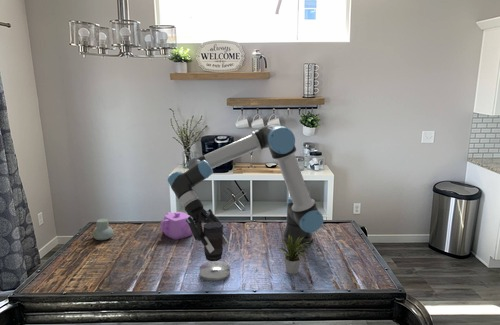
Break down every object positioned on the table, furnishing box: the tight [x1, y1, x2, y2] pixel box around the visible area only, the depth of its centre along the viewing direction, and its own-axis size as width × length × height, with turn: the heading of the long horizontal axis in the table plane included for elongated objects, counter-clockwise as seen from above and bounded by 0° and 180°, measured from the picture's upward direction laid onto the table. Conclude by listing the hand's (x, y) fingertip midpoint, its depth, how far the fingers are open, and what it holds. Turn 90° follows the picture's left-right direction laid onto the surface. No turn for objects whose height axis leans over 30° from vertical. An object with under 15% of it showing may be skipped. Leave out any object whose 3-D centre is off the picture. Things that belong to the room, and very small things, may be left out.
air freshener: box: [92, 218, 115, 241], centre depth 199 cm, size 11×8×10 cm
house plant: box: [278, 235, 311, 275], centre depth 162 cm, size 14×14×16 cm
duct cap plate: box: [199, 260, 231, 283], centre depth 162 cm, size 13×13×3 cm
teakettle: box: [159, 211, 193, 241], centre depth 204 cm, size 17×17×12 cm
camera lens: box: [202, 222, 224, 262], centre depth 159 cm, size 8×8×15 cm
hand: (219, 247), depth 157 cm, fingers closed on camera lens, 8 cm apart
